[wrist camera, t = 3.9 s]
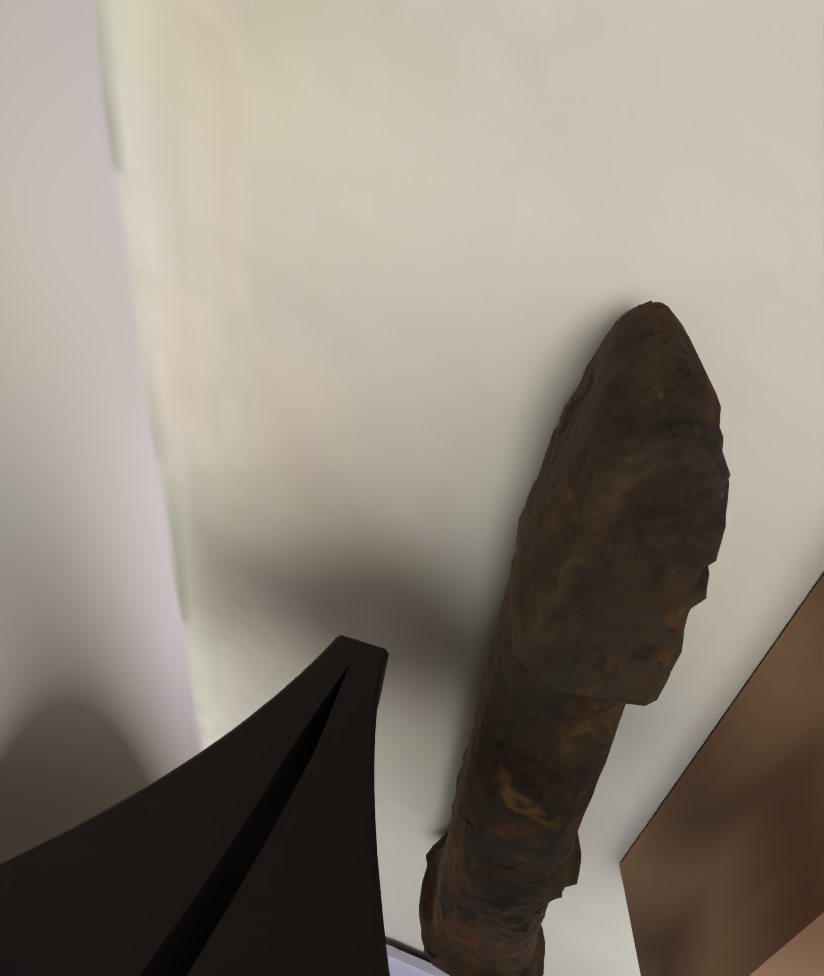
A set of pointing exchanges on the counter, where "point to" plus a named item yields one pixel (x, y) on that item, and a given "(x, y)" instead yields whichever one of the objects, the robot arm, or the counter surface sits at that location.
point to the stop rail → (743, 831)
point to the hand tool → (579, 637)
